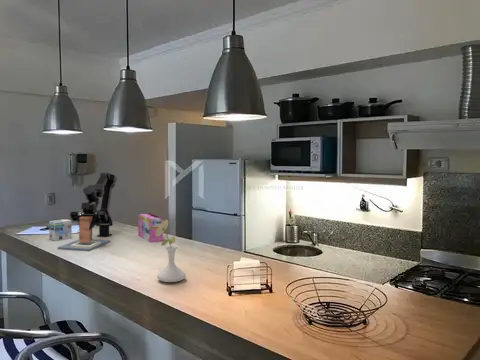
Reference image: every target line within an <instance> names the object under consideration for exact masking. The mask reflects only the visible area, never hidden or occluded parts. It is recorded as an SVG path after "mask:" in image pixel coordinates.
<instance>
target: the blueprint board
mask: <svg viewBox="0 0 480 360" xmlns="http://www.w3.org/2000/svg"><path fill="white" fill-rule="evenodd" d="M109 243H111V240H110V239H93V238H92V241H90V242H79V239H77V240H74V241H71V242H69V243H65V244H63V245H61V246H57V250H65V251H77V252H78V251H80V252H90V251H93V250H96V249H98V248H100V247H102V246H104V245H106V244H109Z"/></svg>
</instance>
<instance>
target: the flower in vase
mask: <svg viewBox="0 0 480 360" xmlns="http://www.w3.org/2000/svg"><path fill="white" fill-rule="evenodd" d="M168 225H169V221H168V219H165V220H163V222H162V223H161V226H160V225H159V226H158V229H157V231H156V232H155V233H156V234H155V236H157V237H158V236H160V235H161V234H162V233H163V234H164V233H165V236H166V239H164V240H163V241H161V245H160V246H165V249H166V250H167V255H168V263H167V265H166V266H165V267H164V268H163V269H162V270H160V271H159V273H158V274H157V277H156V278H157V280H159V281H161V282H164V283H177V282H180V281H183V280H184V279H185V278H186V277H187V276H186V272H185V271H183V270H182V268H179V267H178V266H177V264H176V262H175V256H176V255H175V254H176V250H177V249H178V247H179V246H178V245H177V244H176V245H175V244H174V243H175V242H176V237H175V236H173V237H171V238H170V239H169V235H168V233H167V228H168ZM167 243H168V244H167Z"/></svg>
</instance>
